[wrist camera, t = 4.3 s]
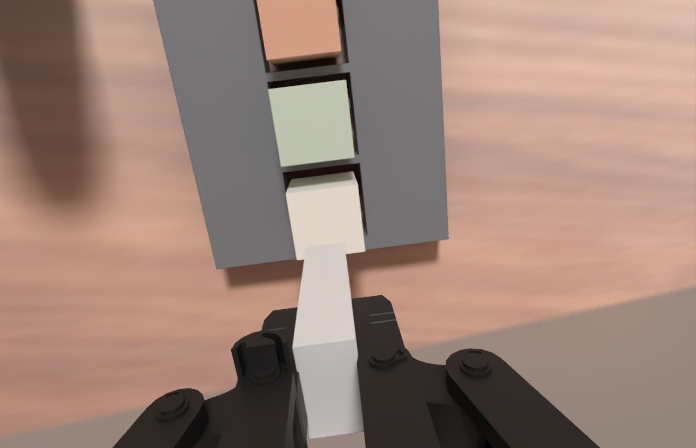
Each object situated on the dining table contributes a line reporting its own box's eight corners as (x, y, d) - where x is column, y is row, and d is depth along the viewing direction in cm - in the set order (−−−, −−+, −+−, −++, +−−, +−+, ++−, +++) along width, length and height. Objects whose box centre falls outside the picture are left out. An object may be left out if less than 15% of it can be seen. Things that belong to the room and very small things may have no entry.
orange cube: (275, 64, 26) (266, 59, 22) (263, -7, 24) (252, -26, 21) (340, 56, 26) (343, 50, 22) (332, -15, 25) (334, -35, 21)
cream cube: (300, 237, 28) (296, 260, 24) (291, 179, 26) (285, 193, 23) (361, 229, 28) (367, 251, 24) (354, 171, 27) (359, 184, 23)
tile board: (225, 255, 30) (216, 269, 28) (163, -19, 25) (145, -31, 23) (438, 227, 31) (448, 239, 28) (424, -50, 25) (435, -65, 23)
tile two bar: (287, 155, 26) (281, 166, 22) (276, 89, 25) (268, 89, 21) (352, 147, 26) (357, 157, 22) (344, 81, 25) (348, 79, 21)
